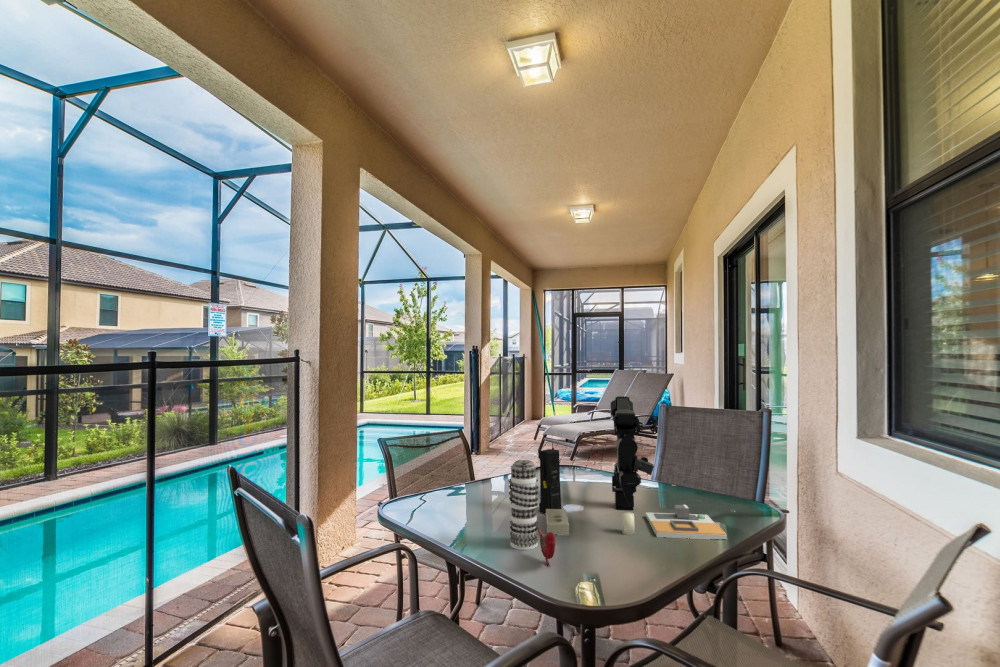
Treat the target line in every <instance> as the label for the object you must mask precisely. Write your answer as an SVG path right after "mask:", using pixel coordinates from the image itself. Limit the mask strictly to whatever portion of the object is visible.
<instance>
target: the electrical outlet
mask: <svg viewBox="0 0 1000 667" xmlns="http://www.w3.org/2000/svg"><path fill="white" fill-rule="evenodd" d="M545 522H546V526H547V527H546V534H547V533H549V532H552V533H553V534H564V535H563V536H567V535H569V536H570V523H569V518H568V514H567V509H565V508H564V509H563V508H562V509H546V514H545Z"/></svg>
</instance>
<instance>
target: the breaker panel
mask: <svg viewBox="0 0 1000 667" xmlns="http://www.w3.org/2000/svg"><path fill="white" fill-rule="evenodd" d="M645 518H646V519H647V522H648V521H649V522H648V524H649V525H650V527H651V529H652V530H653V533H654V534H655V535H656V538H663V537H666V538H665V539H667V538H669V539H686V538H688V539H689V538H690V539H691V540H692V539H693V540H710V539H727V540H728V535H727V533H726V532H725V530H723V529H722V528H721V527H720V526H719V525H718V524H717V523H716V522H715V521H714V520H713V519H712V518H711V517H710V516H709V515H708V514H702V513H697V514H695V513H689V518H677V517H676V515H675V513H671V512H670V513H667V512H645ZM688 539H687V540H688ZM690 539H689V540H690Z"/></svg>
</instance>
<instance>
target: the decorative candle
mask: <svg viewBox="0 0 1000 667" xmlns="http://www.w3.org/2000/svg"><path fill="white" fill-rule="evenodd" d="M536 468H538V467H537V465H535V464H534V462H533V461H531V460H529V459H527V460H526V459H520V460H515V461H514V462H513V464H512V465H510V469H511V470H510V473H511V474H510V478H509V480H508V482H507V483H509V485H508V489H509V493H508V494H509V497H508V498H509V501H510V503H509V507H511V514H510V521H509V524H510V526H509V528H510V530H511V531H510V532H509V535H510V538H509V540H510V544H509V545H510V547H511V548H513V549H515V550H518V551H519V550H520V551H530V550H534V549H536V548H537V547H538V545H539V542H538V541H539V539H538V536H539V532H538V528H539V527H538V524H539V521H538V520H537V519H538V518H537V517H538V516H537V513H536V512H537V507H538V506H539V503H538V500H539V498H538V497H537V495H538V494H539V491H537V490H538V489H539V485H537V484H536V483H537V482H538V481H539V480H538V479H537V476H536ZM535 547H536V548H535Z"/></svg>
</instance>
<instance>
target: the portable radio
mask: <svg viewBox="0 0 1000 667" xmlns="http://www.w3.org/2000/svg"><path fill="white" fill-rule="evenodd" d="M551 446H552V447H551V448H549V449H543V450H538V453H537V455H538V457H537V458H538V459H539V484H540V486H539V488H540V489H539V490H540V491H539V492H540V494H539V495H540V496H539V498H540V499H539V500H540V502H539V503H538V511H539V512H540V513H542V512H543V514H544V513H546V509H563V507H562V496H561V495H562V493H561V476H560V475H561V473H560V472H561V468H560V467H561V466H560V465H561V464H560V450H559V449H555V447H554V442H552V445H551Z"/></svg>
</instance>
